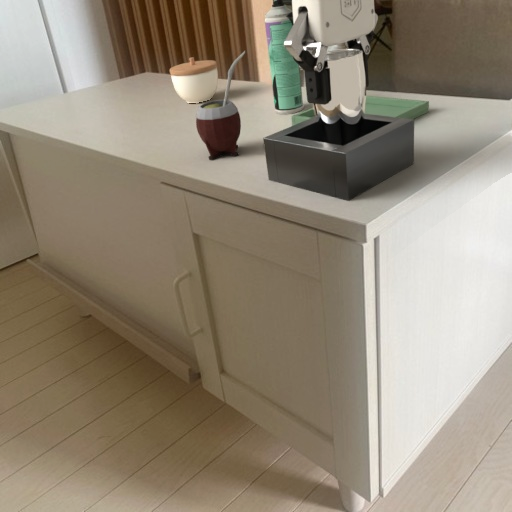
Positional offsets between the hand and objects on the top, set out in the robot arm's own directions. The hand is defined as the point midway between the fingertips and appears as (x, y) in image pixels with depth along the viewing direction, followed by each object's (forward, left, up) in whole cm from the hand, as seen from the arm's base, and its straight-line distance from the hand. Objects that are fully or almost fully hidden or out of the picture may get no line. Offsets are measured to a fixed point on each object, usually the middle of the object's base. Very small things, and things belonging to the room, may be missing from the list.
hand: (338, 93), depth 69 cm
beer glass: (0, 0, -10) cm, 10 cm away
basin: (0, 0, -10) cm, 10 cm away
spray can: (+30, -21, -11) cm, 38 cm away
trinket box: (+58, -20, -11) cm, 62 cm away
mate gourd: (+22, +2, -11) cm, 25 cm away
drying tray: (+13, -21, -10) cm, 27 cm away
